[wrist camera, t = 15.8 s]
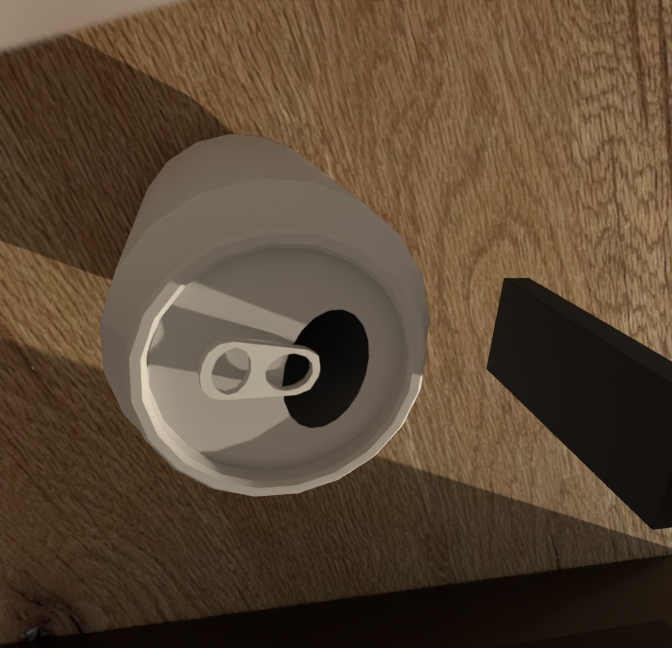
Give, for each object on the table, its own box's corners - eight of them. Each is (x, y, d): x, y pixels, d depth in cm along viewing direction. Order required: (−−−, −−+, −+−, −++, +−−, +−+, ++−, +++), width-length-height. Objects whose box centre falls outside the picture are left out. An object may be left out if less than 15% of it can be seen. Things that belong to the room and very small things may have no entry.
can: (311, 332, 25) (402, 532, 14) (128, 306, 22) (69, 521, 12) (355, 157, 22) (508, 236, 11) (153, 108, 20) (108, 150, 9)
